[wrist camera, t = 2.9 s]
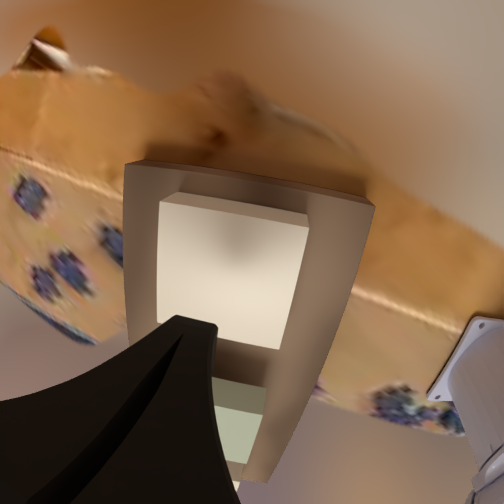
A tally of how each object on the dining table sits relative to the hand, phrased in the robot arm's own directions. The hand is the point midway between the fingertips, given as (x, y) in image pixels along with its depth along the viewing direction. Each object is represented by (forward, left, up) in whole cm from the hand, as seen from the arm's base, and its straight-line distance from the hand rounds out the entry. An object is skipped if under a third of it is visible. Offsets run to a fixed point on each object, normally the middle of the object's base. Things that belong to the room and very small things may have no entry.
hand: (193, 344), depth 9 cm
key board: (0, +9, -8) cm, 13 cm away
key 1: (0, 0, -6) cm, 6 cm away
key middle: (0, +9, -5) cm, 11 cm away
